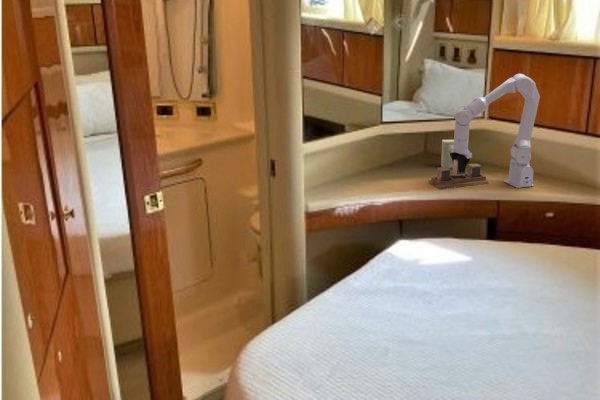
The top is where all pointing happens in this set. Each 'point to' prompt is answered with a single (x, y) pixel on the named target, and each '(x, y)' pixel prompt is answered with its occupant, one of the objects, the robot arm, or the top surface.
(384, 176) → the top surface
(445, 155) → the skincare box
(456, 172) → the rose block
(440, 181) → the walnut rack
